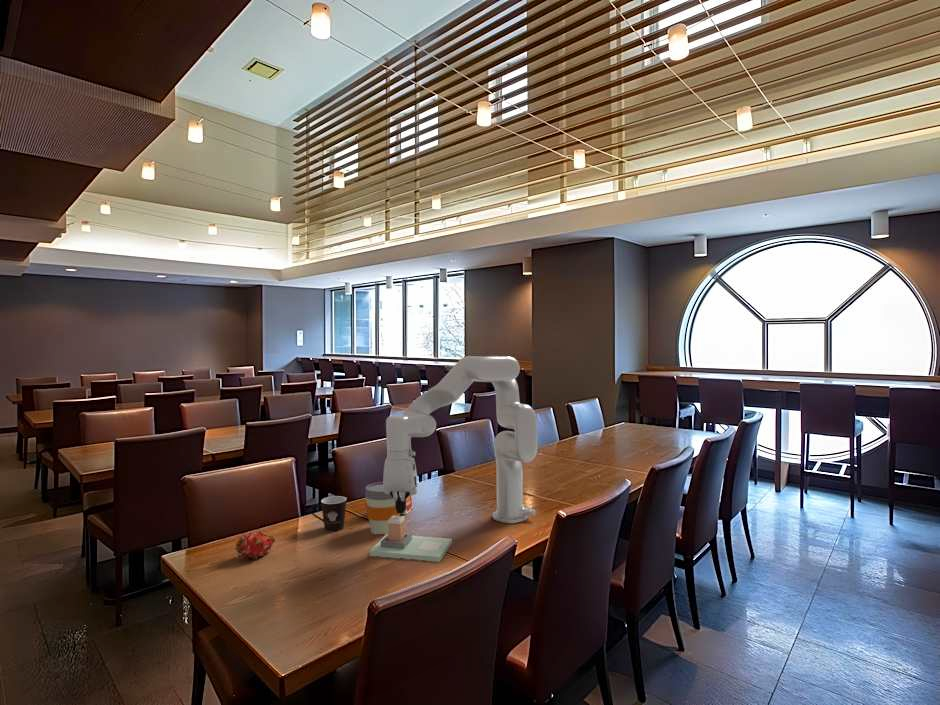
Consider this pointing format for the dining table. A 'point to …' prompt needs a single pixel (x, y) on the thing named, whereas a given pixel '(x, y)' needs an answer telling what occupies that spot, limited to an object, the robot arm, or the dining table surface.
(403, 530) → the tan upright block
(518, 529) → the dining table surface
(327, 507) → the coffee mug
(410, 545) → the board
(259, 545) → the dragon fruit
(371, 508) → the reusable coffee cup
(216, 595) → the dining table surface
